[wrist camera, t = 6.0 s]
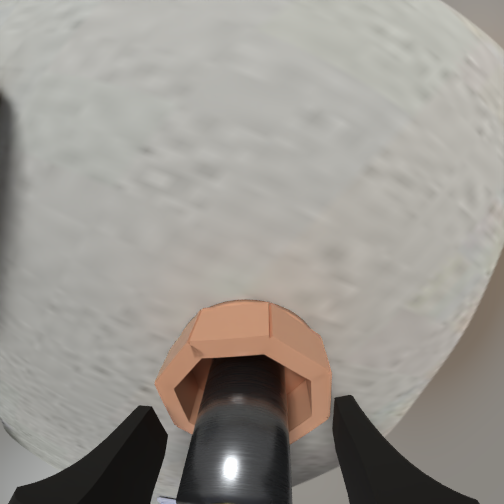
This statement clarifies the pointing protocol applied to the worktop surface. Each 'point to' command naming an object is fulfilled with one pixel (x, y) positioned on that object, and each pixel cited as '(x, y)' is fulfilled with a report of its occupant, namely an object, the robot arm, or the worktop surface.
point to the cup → (244, 344)
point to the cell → (240, 436)
